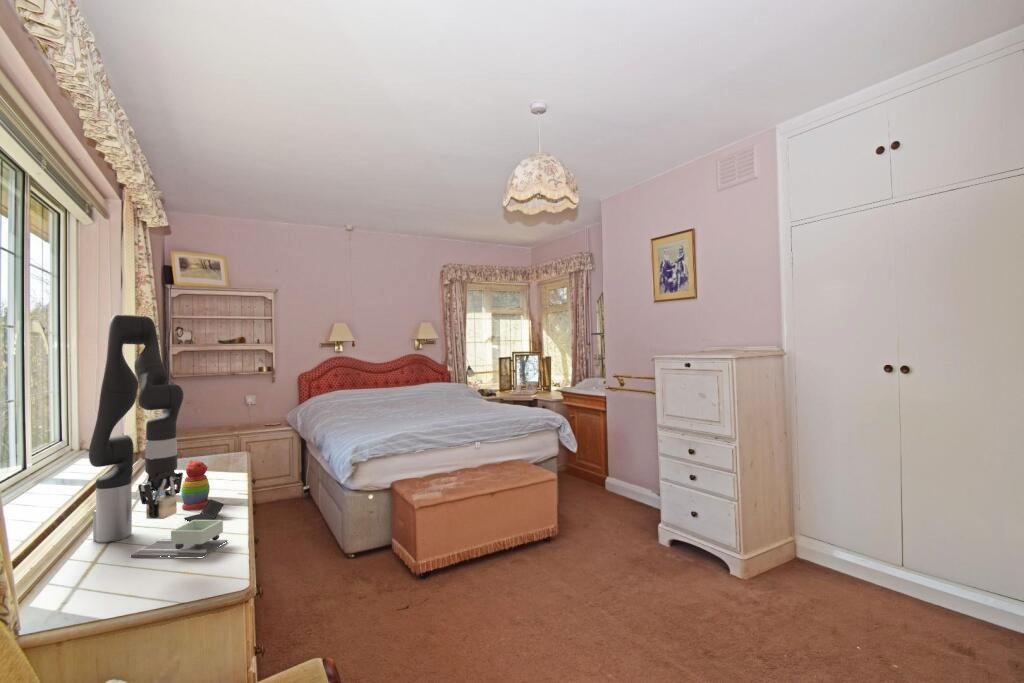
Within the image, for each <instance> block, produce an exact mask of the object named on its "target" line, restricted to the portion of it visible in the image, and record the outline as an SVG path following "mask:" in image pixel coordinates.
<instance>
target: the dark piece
mask: <svg viewBox="0 0 1024 683" xmlns="http://www.w3.org/2000/svg"><path fill="white" fill-rule="evenodd" d="M208 500H209V501H208V503H207V504H206V506H205V507H204V508H202V510H201V512H200V513H198V514H193V515H189V516H185V517H183V519H185V520H184V521H186V520H187V521H186V522H188V521H189V522H190V521H192V520H216V518H217V516H218V514H220V512H221V510H222V508H223V507H224V506H225V503H222V502H220V501H217V500H214V499H212V498H210V499H208Z"/></svg>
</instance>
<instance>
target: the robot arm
mask: <svg viewBox="0 0 1024 683" xmlns="http://www.w3.org/2000/svg"><path fill="white" fill-rule="evenodd" d="M108 326H109V327H108V336H107V350H106V351H107V353H106V361H105V368H104V374H103V377H102V383H101V389H100V394H99V401H98V402H99V403H98V410H97V418H96V422H95V426H94V429H93V432H92V437H91V440H90V444H89V448H88V461H89V463H90V465H91V466H93V467H94V468H95V467H96V468H102V467H108V466H114V467H113V468H112V469H111V470H109V471H107V472H106V473H105V474H103V475H101V476H99V477H98V478H97V479H95V509H94V510H93V511H92V536H93V537H92V540H93V541H96V543H110V541H111V542H116V541H120V540H123V538H124V539H127V538H128V537H130V536H131V535H132V534H133V529H132V528H133V527H132V526H133V520H132V519H133V510H132V509H133V506H132V503H133V501H132V497H133V496H132V493H133V492H132V478H133V473H134V472H133V471H134V470H133V465H134V449H135V448H134V442H133V439H132V438H131V436H130V435H128V434H121V435H113V436H112V432H113V430H114V429H115V427H116V425H117V424H118V423H119V422H120V421H121V420H122V419H123V417H124V416H125V415H127V413H128V412H129V411H130V410H131V409H132V408H133V406H134V404H136V399H137V397H138V400H137V402H138V404H139V406H140V407H141V408H142V409H143V410H145V411H156V410H165V412H164V413H163V414H162V415H160V416H157V417H153V418H151V419H148V420H147V422H146V426H145V429H146V430H145V431H146V432H145V435H146V437H145V439H146V440H145V446H144V448H145V450H144V459H145V461H144V462H145V463H144V467H145V468H144V469H145V473H146V474H147V475H148V477H147V480H146V482H144V483H140V484H138V491H139V492H138V493H139V497H140V501H141V504H142V505H146V504H148V505H149V516H150V518H157V517H158V516H159V504H158V502H159V498H160V496H161V495H162V493H163V492H164V495H165V496H177V494H180V493H181V490H182V484H183V483H182V482H183V476H184V473H183V472H181V471H179V472H175V471H176V470H177V469H178V442H177V423H178V422H177V421H178V416H179V413H180V409H181V407H182V403H183V400H184V391H183V388H182V387H181V385H179V384H177V383H176V384H175V383H168V382H169V375H168V373H167V370H166V367H165V364H164V362H163V360H162V357H161V352H160V345H159V338H158V334H157V333H158V332H157V329H156V325H155V323H154V321H153V319H152V318H151V317H149V316H147V315H136V314H135V315H134V314H133V315H132V314H115V315H113V316H112V317H111V319H110V322H109V325H108ZM123 345H143V346H144V347H143V349H142V351H141V352H140V353H139V354H138V356H137V357H136V359H135V361H134V371H135V373H134V372H133V370H132V368H130V366H129V364H128V363H127V361H126V359H125V356H124V353H123ZM135 374H136V375H135ZM167 383H168V384H167ZM138 388H139V393H138ZM137 394H138V396H137ZM156 491H158V492H157V493H154V492H156ZM154 497H155V499H154V500H153V498H154Z"/></svg>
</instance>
